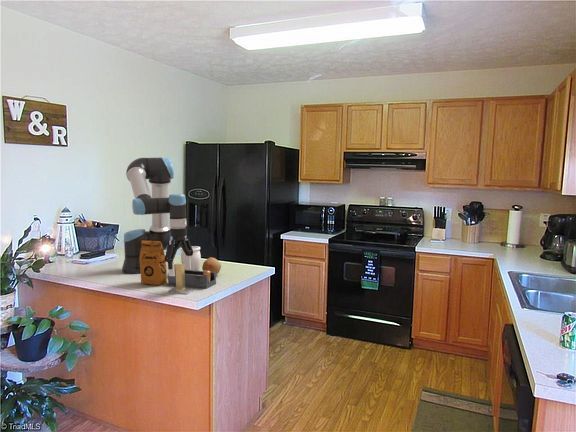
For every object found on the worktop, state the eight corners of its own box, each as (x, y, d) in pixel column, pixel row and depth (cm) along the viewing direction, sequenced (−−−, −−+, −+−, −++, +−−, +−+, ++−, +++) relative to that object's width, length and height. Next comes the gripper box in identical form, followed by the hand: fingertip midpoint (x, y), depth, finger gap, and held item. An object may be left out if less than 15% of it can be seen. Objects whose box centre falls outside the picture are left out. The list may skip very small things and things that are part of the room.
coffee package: (159, 287, 209) (157, 242, 206) (137, 285, 212) (135, 241, 210) (170, 281, 218) (168, 239, 216) (149, 280, 222) (147, 238, 219)
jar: (204, 273, 236) (204, 246, 234) (194, 277, 226) (193, 249, 224) (188, 271, 239) (187, 245, 237) (177, 276, 229) (176, 248, 228)
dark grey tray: (168, 284, 212) (167, 266, 211) (178, 280, 221) (177, 262, 220) (206, 288, 205) (206, 269, 204) (216, 283, 213) (215, 265, 212)
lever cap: (168, 292, 199) (167, 264, 198) (174, 289, 204) (173, 262, 203) (187, 294, 196) (186, 266, 195) (193, 291, 201) (192, 264, 199)
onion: (222, 277, 226) (221, 258, 225) (203, 278, 223) (202, 260, 222) (219, 272, 235) (219, 255, 234) (201, 274, 233) (201, 256, 232)
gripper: (169, 231, 184) (171, 279, 186) (199, 224, 207) (201, 267, 209) (154, 231, 186) (156, 278, 189) (186, 223, 210) (187, 266, 212)
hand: (180, 272), depth 199 cm, fingers open, 13 cm apart
